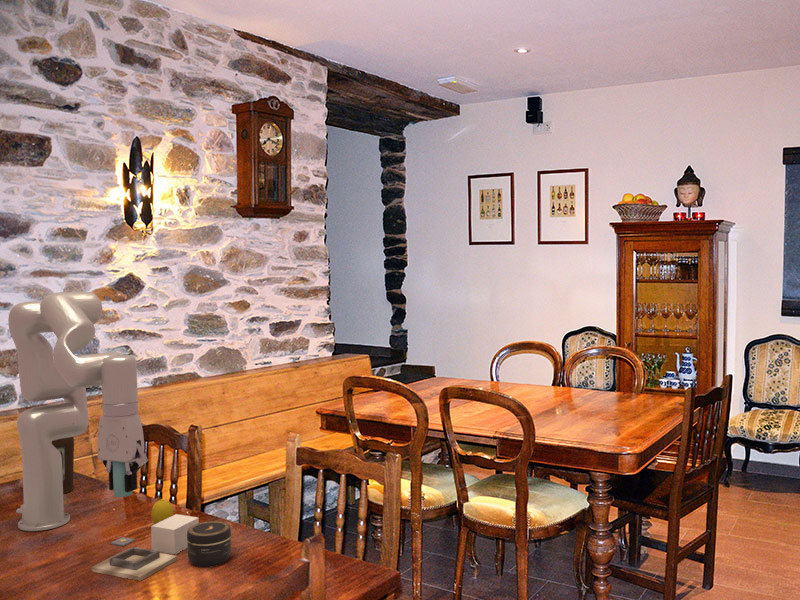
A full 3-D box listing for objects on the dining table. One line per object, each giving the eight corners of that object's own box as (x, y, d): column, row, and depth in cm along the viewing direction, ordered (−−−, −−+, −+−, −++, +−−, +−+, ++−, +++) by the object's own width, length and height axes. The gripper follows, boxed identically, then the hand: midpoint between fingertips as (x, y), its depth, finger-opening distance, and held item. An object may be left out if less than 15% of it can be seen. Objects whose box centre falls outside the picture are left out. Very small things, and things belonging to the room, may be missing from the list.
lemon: (167, 533, 185) (166, 503, 185) (147, 532, 186) (146, 501, 186) (177, 526, 190) (177, 496, 190) (158, 524, 191) (158, 495, 191)
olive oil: (42, 487, 225) (40, 408, 224) (79, 485, 228) (76, 406, 226) (32, 498, 215) (30, 415, 214) (70, 495, 217) (68, 413, 216)
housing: (151, 550, 174) (151, 526, 174) (176, 537, 182) (176, 514, 182) (175, 554, 171) (174, 529, 171) (199, 541, 179) (198, 517, 179)
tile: (110, 544, 178) (110, 541, 178) (122, 538, 182) (122, 536, 182) (123, 546, 177) (123, 544, 176) (135, 540, 180) (135, 538, 180)
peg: (109, 496, 163) (108, 461, 163) (123, 491, 167) (121, 456, 166) (123, 498, 161) (122, 462, 161) (136, 492, 165) (135, 458, 165)
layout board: (91, 571, 162) (91, 560, 162) (130, 551, 173) (130, 541, 173) (140, 581, 157) (140, 569, 157) (177, 560, 168) (176, 549, 168)
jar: (233, 550, 174) (232, 518, 173) (230, 566, 164) (229, 534, 164) (190, 553, 172) (189, 521, 172) (185, 570, 162) (184, 537, 162)
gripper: (80, 410, 163) (83, 490, 164) (136, 415, 157) (139, 498, 157) (105, 405, 170) (108, 481, 171) (160, 409, 164) (163, 488, 164)
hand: (123, 488), depth 164 cm, fingers closed on peg, 4 cm apart
